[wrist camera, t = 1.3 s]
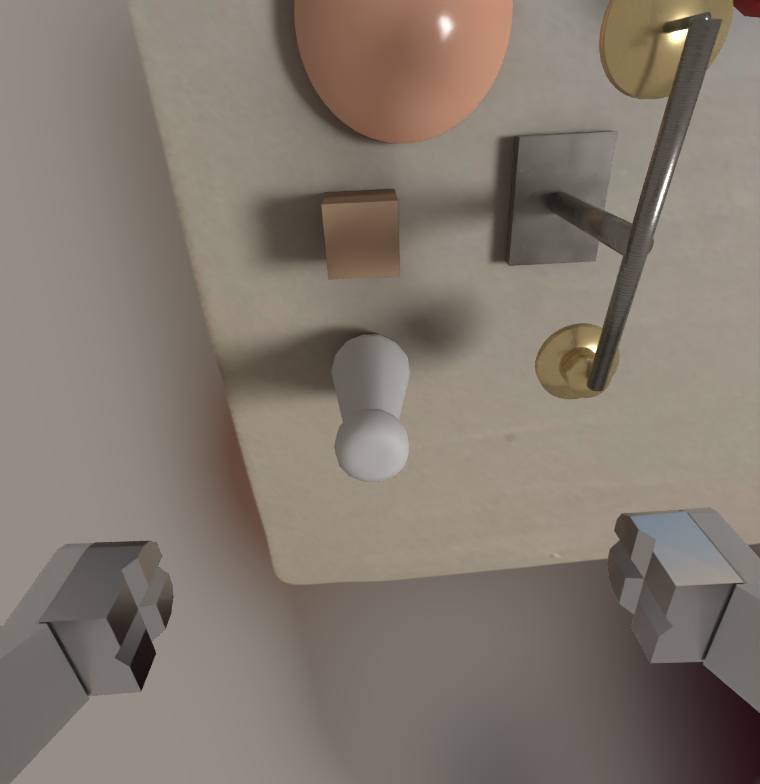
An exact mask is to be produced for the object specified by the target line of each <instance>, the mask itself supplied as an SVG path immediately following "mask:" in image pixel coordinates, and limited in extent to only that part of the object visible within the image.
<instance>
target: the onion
mask: <svg viewBox="0 0 760 784" xmlns="http://www.w3.org/2000/svg"><path fill="white" fill-rule="evenodd" d="M733 6H734V7H735V8H736V9H738V10H739V11H740V12H741V13H742V14H743V15H744V16H750V17H760V0H733Z"/></svg>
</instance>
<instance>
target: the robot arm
mask: <svg viewBox="0 0 760 784" xmlns="http://www.w3.org/2000/svg"><path fill="white" fill-rule="evenodd" d="M614 531H615V533H616V534H617V536H618V538H619V541H618V542H617V543H616V544H615V545H614V546H613V547H611V548H610V551H609V556H608V562H607V565H608V574H609V580H610V583H611V587H612V590H613V592H614V594H615V596H616V598H617V600H618V602H619V604H621V605H622V606H624V607H625V608H626V609H628V610H629V611H630V612H632V613H633V614H634V617H633V621H632V625H631V627H632V629H633V631H634V633H635V635H636V637H637V638H638V640H639V642H640V644H641V646H642V648H643V650H644V652H645V654H646V655H647V658H648V659H649V661H650V663H671V662H672V663H673V662H704V663H703V665H704V666H706V667H707V668H708V669H709V670H710V671H712V672H713V673H714V674H715V675H716V676H717V677H719V678H720V679H721V680H722V681H723V682H724V683H726V684H727V685H728V686H729V687H730V688H731V689H733V690H734V691H735V692H736V693H737V694H738V695H740V696H741V697H742V698H743V699H744V700H746V701H747V702H748V703H749V704H750V705H752V706H753V707H754V708H755V709H756V710H757V711H758V712H760V559H759V557H758V556H757V555H756V554H755V553H754V552H753V551H752V550H751V548H749V546H748V545H747V544H746V543H745V542H744V541H743V540H742V538H741V537H740V536H739V535H738V534H737V533H736V532H735V531H734V529H733V528H732V527H731V526H730V525H729V524H728V523H727V522H726V521H725V519H724V518H723V517H722V516H721V515H720V514H719V513H718V512H717V511H715V510H713V509H711V508H695V509H681V510H668V511H653V512H638V513H623V514H621V515H620V516H619V517H618V519H617V521H616V525H615V529H614ZM161 558H162V554H161V552H160V549H159V547H158V544H157V542H153V541H126V542H95V543H83V544H66V545H64V546H63V547H61V548H59V549H58V550H57V551H56V552H55V554H54V555H53V556H52V558H51V559H50V561H49V562H48V563H47V565H46V566H45V568H44V569H43V570H42V572H41V573H40V575H39V576H38V578H37V579H36V580H35V582H34V583H33V585H32V586H31V587H30V589H29V590H28V591H27V593H26V594H25V596H24V597H23V598H22V600H21V601H20V603H19V604H18V605H17V607H16V608H15V610H14V611H13V613H12V614H11V615H10V617H9V618H8V619H7V621H6V622H5V624H4V625H3V626H0V784H10V783H11V782H12V781H13V780H14V779H15V778H16V777H17V775H18V774H19V773H20V772H21V771H22V770H23V769H24V768H25V767H26V766H27V765H28V764H29V763H30V762H31V760H32V759H33V758H34V757H35V756H36V755H37V754H38V753H39V752H40V751H41V750H42V749H43V748H44V747H45V746H46V745H47V743H48V742H49V741H50V740H51V739H52V738H53V737H54V736H55V735H56V734H57V733H58V732H59V731H60V730H61V729H62V728H63V727H64V725H65V724H66V723H67V722H68V721H69V720H70V719H71V718H72V717H73V716H74V715H75V713H77V712H78V710H80V708H81V707H82V706H83V705H84V704H85V703H86V702H87V701H88V700H89V697H88V696H97V695H107V694H119V693H132V692H141V691H142V688H143V686H144V683H145V680H146V678H147V676H148V673H149V671H150V668H151V665H152V663H153V660H154V658H155V655H156V651H155V649H154V646H153V643H152V641H153V640H154V639H155V638H156V637H158V636H159V635H160V634H161V633H162V632H163V631H164V630H165V629H166V627H167V624H168V621H169V619H170V615H171V612H172V604H173V597H174V596H173V586H172V582H171V579H170V576H169V574H168V573H167V572H165V571H164V570H162V569H161V568H160V567H158V565H159V562H160V560H161Z"/></svg>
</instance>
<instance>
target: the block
mask: <svg viewBox="0 0 760 784" xmlns="http://www.w3.org/2000/svg"><path fill="white" fill-rule="evenodd" d="M321 208H322V218H323V228H324V238H325V248H326V258H327V268H328V279H329V280H332V279H351V278H370V277H389V276H400V253H399V215H398V199H397V196H396V193H395V190H394V189H381V190H362V191H343V192H326V194H325V196H324V199H323V201H322V204H321Z"/></svg>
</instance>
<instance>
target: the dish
mask: <svg viewBox="0 0 760 784" xmlns="http://www.w3.org/2000/svg"><path fill="white" fill-rule="evenodd" d="M512 17H513V0H295V3H294V18H295V31H296V37H297V44H298V48H299V52H300V55H301V59H302V62H303V65H304V67H305V70H306V73H307V75H308V77H309V79H310V81H311V83H312V85H313V87H314V89H315V91H316V92H317V94H318V95H319V96H320V98H321V99H322V101H323V102H324V104H325V105H326V106H327V107H328V108H329V109H330V110H331V112H332V113H333V114H334V115H335V116H336V117H338V118H339V119H340V120H341V121H342V122H343V123H344V124H346V125H347V126H349V127H350V128H352V129H353V130H355V131H357V132H359V133H361V134H363V135H365V136H367V137H370V138H373V139H376V140H379V141H384V142H390V143H413V142H420V141H423V140H427V139H431V138H433V137H435V136H438V135H440V134H442V133H444V132H446V131H448V130H449V129H451V128H453V127H454V126H456V125H457V124H458V123H460V122H461V121H462V120H463V119H465V118H466V117H467V116H468V115H469V114H470V113H471V112H472V111H473V110H474V109H475V108H476V107H477V106H478V104H479V103H480V102H481V101H482V99H483V98H484V97H485V95H486V94H487V92H488V91H489V89H490V87H491V86H492V84H493V83H494V81H495V79H496V77H497V74H498V72H499V70H500V68H501V66H502V63H503V60H504V57H505V54H506V51H507V47H508V42H509V38H510V33H511V25H512Z"/></svg>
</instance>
